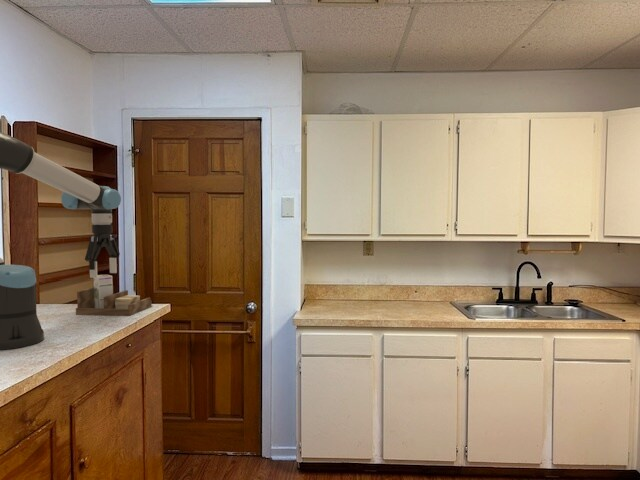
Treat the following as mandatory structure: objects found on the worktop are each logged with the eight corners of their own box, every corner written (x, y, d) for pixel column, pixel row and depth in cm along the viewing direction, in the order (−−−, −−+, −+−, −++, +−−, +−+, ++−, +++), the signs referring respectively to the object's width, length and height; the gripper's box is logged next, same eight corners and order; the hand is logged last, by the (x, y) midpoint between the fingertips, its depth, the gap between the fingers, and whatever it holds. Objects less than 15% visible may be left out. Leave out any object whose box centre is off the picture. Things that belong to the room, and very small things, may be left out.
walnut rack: (129, 315, 163) (128, 293, 163) (75, 314, 165) (75, 292, 165) (151, 306, 181) (151, 285, 181) (103, 305, 183) (102, 284, 183)
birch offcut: (129, 306, 168) (129, 299, 168) (115, 306, 169) (115, 298, 169) (140, 302, 176) (139, 295, 176) (126, 302, 177) (126, 295, 177)
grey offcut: (130, 314, 168) (129, 306, 168) (115, 313, 169) (115, 306, 169) (140, 309, 176) (140, 302, 176) (126, 309, 177) (126, 302, 177)
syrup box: (114, 310, 174) (113, 275, 173) (98, 312, 169) (98, 276, 169) (108, 308, 178) (108, 274, 177) (93, 310, 173) (93, 275, 173)
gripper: (92, 224, 159) (93, 280, 160) (127, 223, 184) (128, 271, 185) (73, 224, 160) (75, 279, 161) (111, 223, 185) (112, 270, 186)
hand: (103, 275), depth 173 cm, fingers open, 13 cm apart
